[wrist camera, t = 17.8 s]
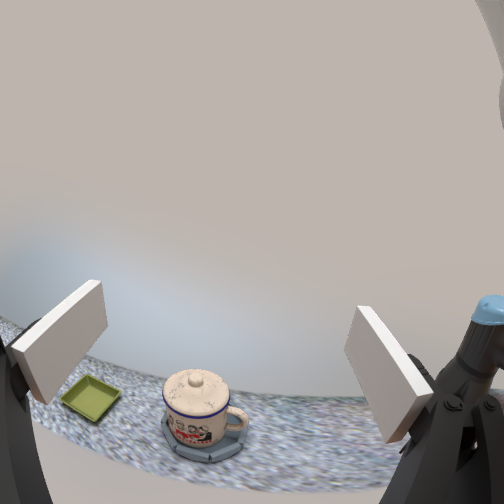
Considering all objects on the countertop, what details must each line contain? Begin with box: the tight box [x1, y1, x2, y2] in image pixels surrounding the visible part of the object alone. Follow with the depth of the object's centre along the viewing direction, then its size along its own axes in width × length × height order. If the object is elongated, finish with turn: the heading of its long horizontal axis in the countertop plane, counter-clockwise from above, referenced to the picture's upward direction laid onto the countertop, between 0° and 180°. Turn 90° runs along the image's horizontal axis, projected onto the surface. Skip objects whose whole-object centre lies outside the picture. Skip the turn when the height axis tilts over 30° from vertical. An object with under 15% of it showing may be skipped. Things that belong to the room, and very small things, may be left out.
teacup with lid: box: [162, 369, 249, 448], centre depth 33 cm, size 12×9×12 cm
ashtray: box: [161, 401, 249, 463], centre depth 35 cm, size 13×13×2 cm
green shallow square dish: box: [60, 374, 121, 422], centre depth 35 cm, size 9×9×2 cm
